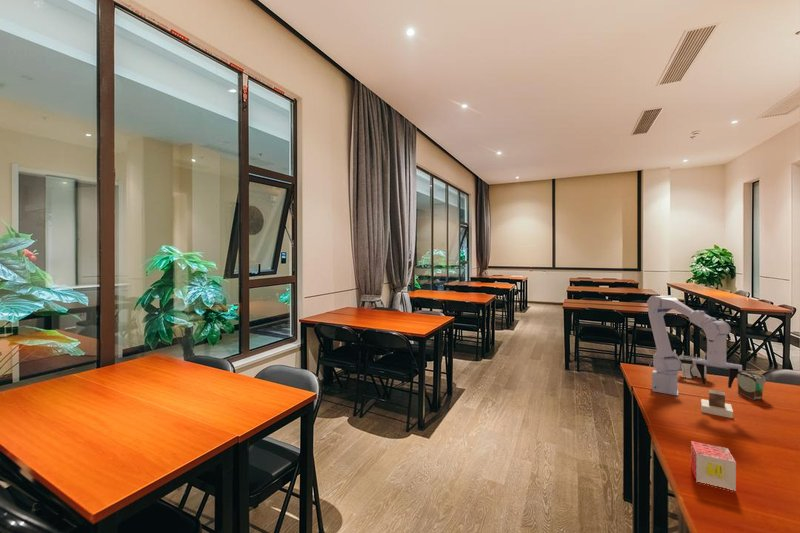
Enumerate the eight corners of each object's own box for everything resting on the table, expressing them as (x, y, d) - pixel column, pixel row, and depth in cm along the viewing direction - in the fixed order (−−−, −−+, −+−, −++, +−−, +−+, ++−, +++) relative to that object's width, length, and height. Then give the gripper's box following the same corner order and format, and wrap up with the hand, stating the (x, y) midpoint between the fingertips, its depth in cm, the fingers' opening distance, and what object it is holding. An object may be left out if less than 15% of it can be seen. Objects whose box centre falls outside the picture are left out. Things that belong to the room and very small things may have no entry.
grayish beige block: (708, 405, 139) (709, 392, 139) (708, 401, 142) (709, 389, 142) (724, 408, 136) (725, 395, 136) (724, 404, 139) (724, 392, 139)
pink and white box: (696, 482, 95) (696, 453, 95) (691, 467, 102) (691, 440, 101) (736, 492, 91) (736, 462, 90) (728, 476, 97) (728, 448, 97)
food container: (774, 402, 147) (774, 379, 147) (757, 401, 148) (757, 378, 148) (751, 392, 159) (751, 370, 159) (735, 391, 160) (735, 369, 160)
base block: (701, 413, 139) (701, 405, 139) (701, 405, 146) (701, 398, 146) (733, 419, 133) (733, 411, 133) (730, 411, 140) (730, 404, 140)
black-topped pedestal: (655, 378, 180) (655, 352, 180) (665, 367, 198) (666, 344, 198) (729, 392, 160) (729, 363, 159) (734, 379, 177) (734, 353, 177)
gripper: (693, 350, 140) (692, 384, 141) (743, 356, 131) (743, 392, 132) (692, 347, 146) (692, 379, 146) (740, 352, 137) (740, 387, 137)
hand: (716, 385), depth 139 cm, fingers open, 7 cm apart
